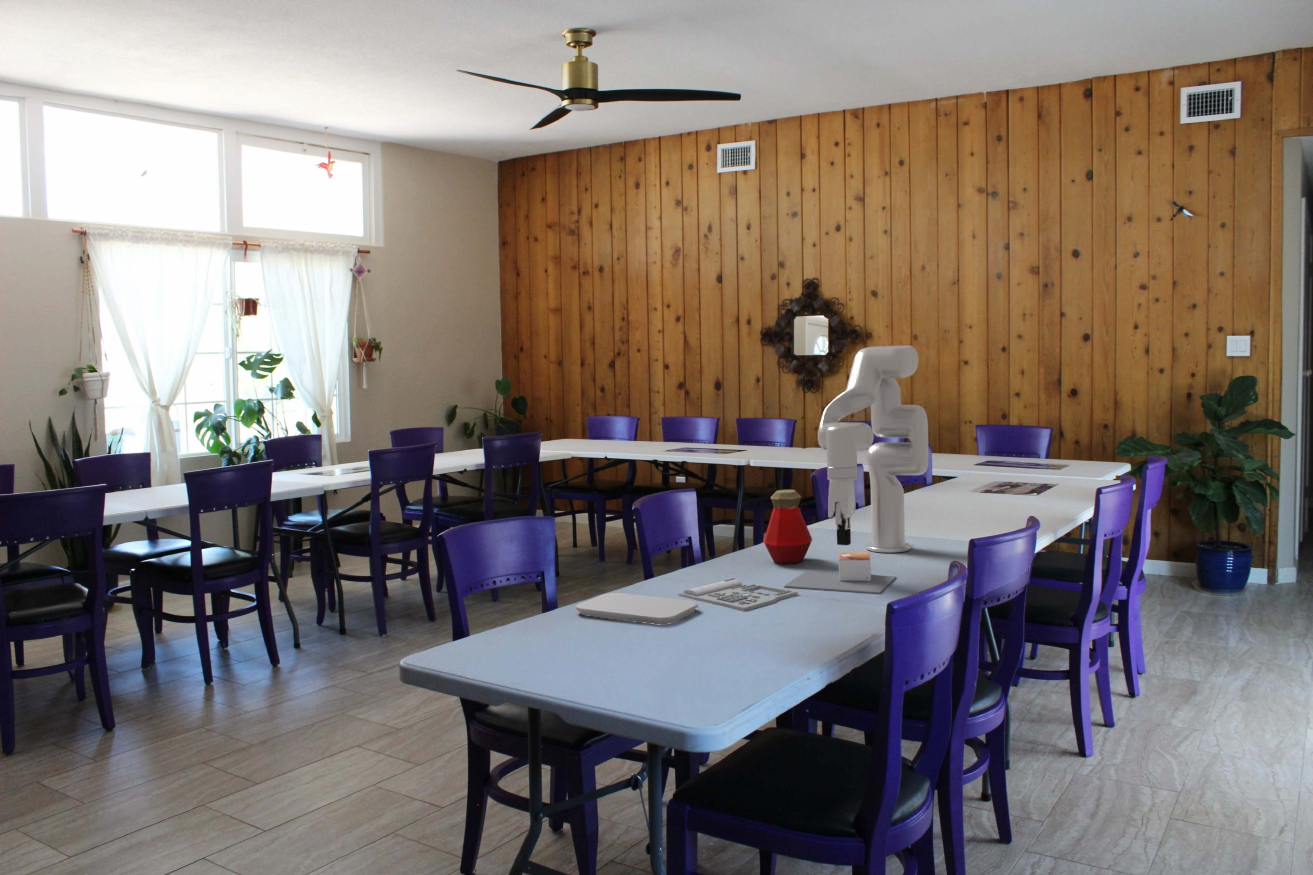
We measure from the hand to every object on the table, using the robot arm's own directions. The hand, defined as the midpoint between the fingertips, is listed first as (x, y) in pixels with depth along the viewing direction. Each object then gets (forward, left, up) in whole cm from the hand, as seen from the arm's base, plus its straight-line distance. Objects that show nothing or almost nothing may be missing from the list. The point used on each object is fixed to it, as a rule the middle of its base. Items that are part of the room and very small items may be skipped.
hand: (843, 544), depth 252 cm
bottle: (-18, -21, -9) cm, 29 cm away
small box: (-7, +1, -6) cm, 9 cm away
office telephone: (+24, -20, -10) cm, 33 cm away
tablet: (+46, -37, -10) cm, 60 cm away
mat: (+4, 0, -9) cm, 10 cm away
